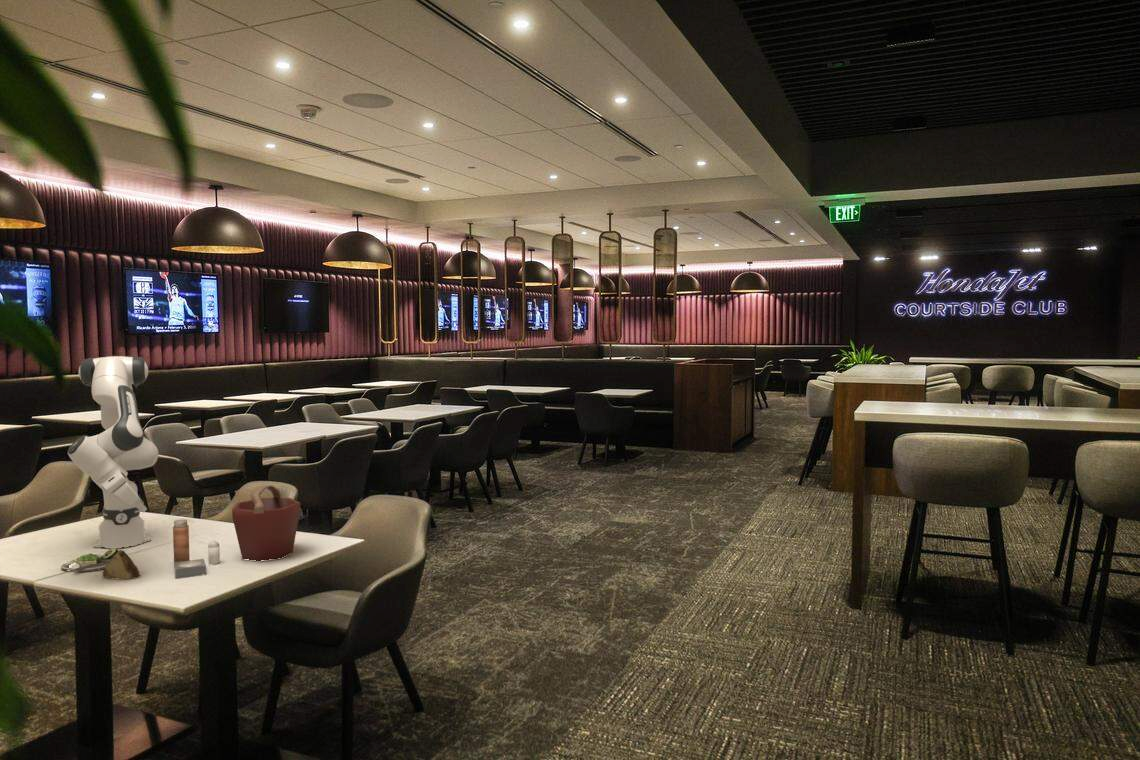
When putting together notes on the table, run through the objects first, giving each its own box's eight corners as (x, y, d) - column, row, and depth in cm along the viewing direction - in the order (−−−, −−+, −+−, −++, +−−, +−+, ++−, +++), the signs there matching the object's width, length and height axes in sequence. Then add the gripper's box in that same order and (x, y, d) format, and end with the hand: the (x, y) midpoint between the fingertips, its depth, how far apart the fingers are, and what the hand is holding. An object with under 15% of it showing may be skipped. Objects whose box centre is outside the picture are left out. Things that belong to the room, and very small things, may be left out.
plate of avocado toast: (96, 576, 255) (96, 562, 255) (46, 575, 256) (45, 561, 256) (134, 559, 274) (134, 546, 274) (87, 558, 276) (87, 545, 275)
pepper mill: (173, 565, 265) (172, 520, 264) (189, 563, 268) (187, 518, 267) (174, 569, 261) (173, 523, 260) (190, 567, 263) (188, 521, 262)
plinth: (174, 571, 259) (174, 562, 259) (203, 567, 264) (203, 558, 263) (175, 578, 251) (175, 569, 251) (206, 574, 256) (205, 565, 256)
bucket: (273, 566, 264) (271, 494, 263) (216, 562, 269) (214, 492, 267) (311, 547, 288) (309, 481, 287) (258, 544, 293) (256, 479, 291)
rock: (91, 573, 250) (106, 574, 244) (106, 548, 254) (121, 548, 249) (121, 585, 257) (136, 587, 251) (135, 561, 261) (150, 562, 256)
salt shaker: (208, 562, 269) (207, 540, 269) (219, 561, 271) (218, 539, 270) (209, 565, 266) (208, 543, 265) (220, 563, 268) (219, 541, 267)
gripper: (101, 479, 260) (132, 507, 266) (106, 491, 244) (138, 521, 249) (118, 466, 263) (148, 494, 269) (123, 477, 246) (155, 507, 252)
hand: (143, 507), depth 259 cm, fingers open, 8 cm apart
